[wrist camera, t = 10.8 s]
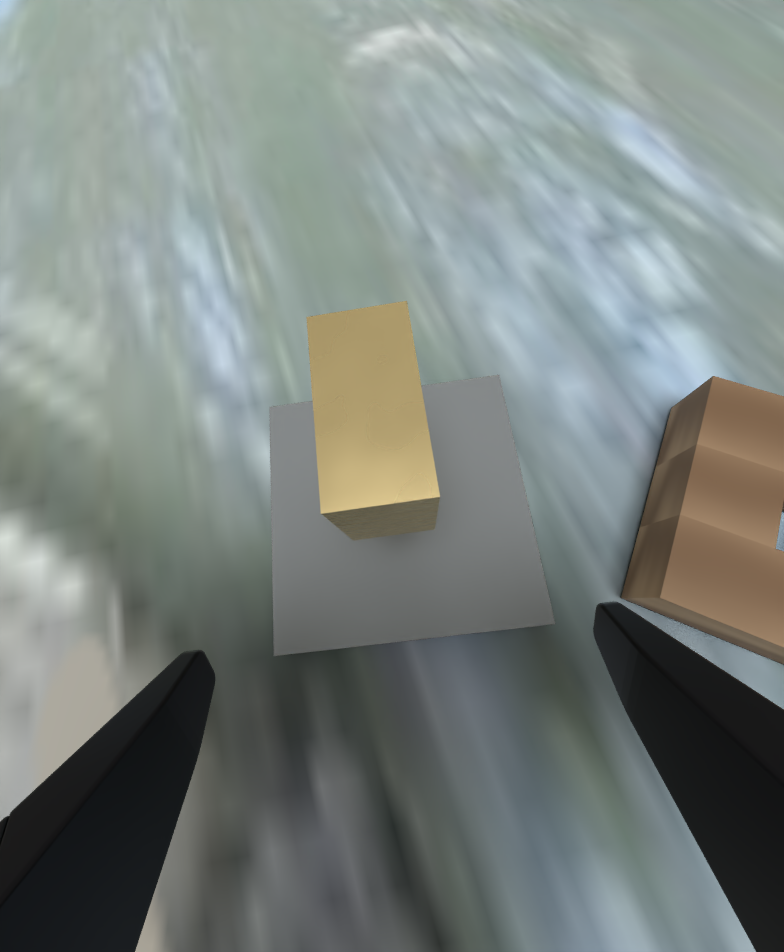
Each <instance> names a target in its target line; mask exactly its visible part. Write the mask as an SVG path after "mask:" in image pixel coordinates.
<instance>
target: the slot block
mask: <svg viewBox="0 0 784 952" xmlns="http://www.w3.org/2000/svg"><path fill="white" fill-rule="evenodd" d="M782 510H783V511H784V396H780V395H777V394H773V393H770V392H767V391H763V390H760V389H756V388H753V387H749V386H746V385H743V384H739V383H736V382H732V381H729V380H725V379H722V378H719V377H715V376H713V377H711V378H710V379H709V380H707V381H706V382H705V383H703V384H702V385H701V386H700V387H698V388H697V389H696V390H694V391H693V392H692V393H690V394H689V395H688V396H687V397H685V398H684V399H683V400H681V401H680V402H679V403H677V404H676V405H675V406H674V407H672V408H671V412H670V415H669V419H668V423H667V427H666V430H665V434H664V438H663V442H662V445H661V449H660V453H659V457H658V461H657V464H656V468H655V472H654V476H653V479H652V483H651V487H650V491H649V494H648V498H647V502H646V506H645V510H644V513H643V517H642V521H641V525H640V528H639V532H638V536H637V540H636V543H635V547H634V551H633V555H632V558H631V562H630V566H629V570H628V574H627V577H626V581H625V585H624V589H623V592H622V596H621V598H623V599H625V600H627V601H630V602H632V603H635V604H637V605H640V606H642V607H645V608H647V609H649V610H652V611H654V612H657V613H659V614H662V615H664V616H667V617H669V618H671V619H674V620H676V621H679V622H681V623H684V624H686V625H689V626H691V627H693V628H696V629H698V630H701V631H703V632H706V633H708V634H711V635H713V636H715V637H718V638H720V639H723V640H725V641H728V642H730V643H733V644H735V645H737V646H740V647H742V648H745V649H747V650H750V651H752V652H755V653H757V654H759V655H762V656H764V657H767V658H769V659H772V660H774V661H777V662H779V663H781V664H784V552H783V551H780V550H778V549H776V543H777V537H778V531H779V525H780V519H781V513H782Z"/></svg>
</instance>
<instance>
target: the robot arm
mask: <svg viewBox="0 0 784 952" xmlns="http://www.w3.org/2000/svg"><path fill="white" fill-rule="evenodd" d="M593 632H594V637H595V640H596V643H597V645H598V648H599V650H600V652H601V655H602V657H603V659H604V662H605V664H606V666H607V669H608V671H609V674H610V676H611V678H612V681H613V683H614V685H615V688H616V690H617V692H618V695H619V697H620V700H621V702H622V704H623V706H624V708H625V711H626V713H627V715H628V716H629V718H630V720H631V722H632V724H633V726H634V728H635V730H636V731H637V733H638V735H639V737H640V739H641V741H642V743H643V744H644V746H645V748H646V750H647V752H648V754H649V755H650V757H651V759H652V761H653V763H654V765H655V766H656V768H657V770H658V772H659V774H660V776H661V777H662V779H663V781H664V783H665V785H666V787H667V789H668V790H669V792H670V794H671V796H672V798H673V800H674V801H675V803H676V805H677V807H678V809H679V811H680V812H681V814H682V816H683V818H684V820H685V822H686V823H687V825H688V827H689V829H690V831H691V833H692V835H693V836H694V838H695V840H696V842H697V844H698V846H699V847H700V849H701V851H702V853H703V855H704V857H705V858H706V860H707V862H708V864H709V866H710V868H711V869H712V871H713V873H714V875H715V877H716V879H717V880H718V882H719V884H720V886H721V888H722V890H723V892H724V893H725V895H726V897H727V899H728V901H729V903H730V904H731V906H732V908H733V910H734V912H735V914H736V915H737V917H738V919H739V921H740V923H741V925H742V926H743V928H744V930H745V932H746V934H747V936H748V938H749V939H750V941H751V943H752V945H753V947H754V949H755V950H756V952H784V709H782V708H781V707H779V706H777V705H776V704H774V703H773V702H771V701H770V700H768V699H767V698H765V697H764V696H762V695H761V694H759V693H757V692H756V691H754V690H753V689H751V688H750V687H748V686H747V685H745V684H744V683H742V682H741V681H739V680H737V679H736V678H734V677H733V676H731V675H730V674H728V673H727V672H725V671H724V670H722V669H721V668H719V667H717V666H716V665H714V664H713V663H711V662H710V661H708V660H707V659H705V658H704V657H702V656H701V655H699V654H698V653H696V652H694V651H693V650H691V649H690V648H688V647H687V646H685V645H684V644H682V643H681V642H679V641H678V640H676V639H674V638H673V637H671V636H670V635H668V634H667V633H665V632H664V631H662V630H661V629H659V628H658V627H656V626H654V625H653V624H651V623H650V622H648V621H647V620H645V619H644V618H642V617H641V616H639V615H638V614H636V613H634V612H633V611H631V610H630V609H628V608H627V607H625V606H624V605H622V604H620V603H618V602H606V603H600V604H598V605H597V607H596V613H595V620H594V628H593ZM214 685H215V673H214V670H213V668H212V666H211V665H210V663H209V661H208V659H207V657H206V655H205V653H204V652H203V651H202V650H193V651H186V652H183V653H182V654H180V655H179V656H178V657H177V658H176V659H175V660H174V661H173V662H172V663H171V664H169V665H168V666H167V667H166V668H165V669H164V670H163V671H162V672H161V673H160V674H159V675H158V676H157V677H155V678H154V679H153V680H152V681H151V682H150V683H149V684H148V685H147V686H146V687H145V688H144V689H143V690H141V691H140V692H139V693H138V694H137V695H136V696H135V697H134V698H133V699H132V700H131V701H130V702H129V703H128V704H126V705H125V706H124V707H123V708H122V709H121V710H120V711H119V712H118V713H117V714H116V715H115V716H114V717H112V718H111V719H110V720H109V721H108V722H107V723H106V724H105V725H104V726H103V727H102V728H101V729H100V730H99V731H98V732H96V733H95V734H94V735H93V736H92V737H91V738H90V739H89V740H88V741H87V742H86V743H85V744H84V745H82V746H81V747H80V748H79V749H78V750H77V751H76V752H75V753H74V754H73V755H72V756H71V757H69V758H68V759H67V760H66V761H65V762H64V763H63V764H62V765H61V766H60V767H59V768H58V769H57V770H56V771H54V772H53V774H51V775H50V776H49V777H48V778H47V779H46V780H45V781H44V782H43V783H42V784H40V785H39V786H38V787H37V788H36V789H35V790H34V791H33V792H32V793H31V794H30V795H29V796H28V797H26V798H25V799H24V800H23V801H22V802H21V803H20V804H19V805H18V806H17V807H16V808H15V809H14V810H12V812H11V813H10V816H7V817H5V818H4V819H3V820H2V821H1V822H0V952H135V950H136V947H137V944H138V940H139V937H140V934H141V931H142V928H143V925H144V922H145V919H146V916H147V913H148V910H149V907H150V904H151V900H152V897H153V894H154V891H155V888H156V885H157V882H158V879H159V876H160V873H161V870H162V867H163V864H164V860H165V857H166V854H167V851H168V848H169V845H170V842H171V839H172V836H173V833H174V830H175V827H176V824H177V820H178V817H179V814H180V811H181V808H182V805H183V802H184V799H185V796H186V793H187V790H188V787H189V783H190V780H191V777H192V774H193V771H194V768H195V765H196V762H197V758H198V755H199V751H200V747H201V743H202V739H203V734H204V730H205V725H206V721H207V716H208V712H209V708H210V703H211V699H212V694H213V690H214Z"/></svg>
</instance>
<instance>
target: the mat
mask: <svg viewBox="0 0 784 952" xmlns="http://www.w3.org/2000/svg"><path fill="white" fill-rule="evenodd" d="M421 388H422V393H423V399H424V405H425V411H426V417H427V423H428V429H429V434H430V440H431V446H432V452H433V458H434V464H435V470H436V475H437V481H438V487H439V493H440V501H439V507H438V513H437V519H436V526H435V529H434V530H427V531H420V532H413V533H406V534H399V535H391V536H384V537H377V538H370V539H363V540H356V541H353V540H352V539H351V538H350V537H348V536H347V535H346V534H345V533H344V532H342V531H341V530H340V529H339V528H338V527H336V526H335V525H334V524H333V523H331V522H330V521H329V520H328V519H327V518H325V517H324V516H323V515H322V514H321V509H320V495H319V481H318V468H317V454H316V440H315V426H314V412H313V401H308V402H301V403H294V404H287V405H280V406H273V407H270V464H271V521H272V578H273V636H274V656H279V655H288V654H297V653H305V652H314V651H323V650H332V649H341V648H349V647H358V646H367V645H376V644H385V643H393V642H402V641H411V640H420V639H428V638H437V637H446V636H455V635H464V634H472V633H481V632H490V631H499V630H508V629H516V628H525V627H534V626H543V625H552V624H555V620H554V615H553V611H552V607H551V602H550V598H549V593H548V589H547V584H546V580H545V576H544V571H543V567H542V562H541V558H540V553H539V549H538V545H537V540H536V536H535V531H534V527H533V522H532V518H531V514H530V509H529V505H528V500H527V496H526V491H525V487H524V483H523V478H522V474H521V469H520V465H519V460H518V456H517V452H516V447H515V443H514V438H513V434H512V429H511V425H510V421H509V416H508V412H507V407H506V403H505V398H504V394H503V390H502V385H501V381H500V376H499V375H494V376H487V377H480V378H473V379H466V380H458V381H451V382H444V383H437V384H430V385H423V386H421Z"/></svg>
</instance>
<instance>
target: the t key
mask: <svg viewBox="0 0 784 952" xmlns="http://www.w3.org/2000/svg"><path fill="white" fill-rule="evenodd" d="M307 329H308V343H309V357H310V371H311V384H312V398H313V412H314V426H315V440H316V454H317V468H318V481H319V495H320V509H321V514H322V515H323V516H324V517H325V518H327V519H328V520H329V521H330V522H331V523H333V524H334V525H335V526H336V527H338V528H339V529H340V530H341V531H342V532H344V533H345V534H346V535H347V536H348V537H350V538H351V539H352V540H353V541H356V540H363V539H370V538H377V537H384V536H391V535H399V534H406V533H413V532H420V531H427V530H434V529H435V526H436V519H437V513H438V507H439V501H440V493H439V487H438V481H437V475H436V470H435V464H434V458H433V452H432V446H431V440H430V434H429V429H428V423H427V417H426V411H425V405H424V399H423V393H422V388H421V382H420V376H419V370H418V364H417V358H416V352H415V347H414V341H413V335H412V329H411V323H410V317H409V311H408V306H407V301H404V302H397V303H391V304H385V305H379V306H373V307H366V308H360V309H354V310H348V311H341V312H335V313H329V314H323V315H317V316H310V317H307Z"/></svg>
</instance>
